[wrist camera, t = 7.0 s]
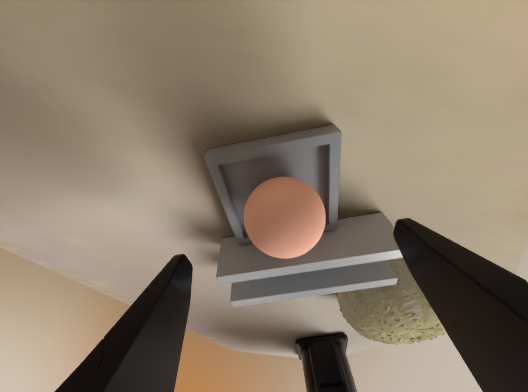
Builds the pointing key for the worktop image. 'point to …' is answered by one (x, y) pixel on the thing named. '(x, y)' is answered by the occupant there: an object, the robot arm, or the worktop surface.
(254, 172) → the coaster
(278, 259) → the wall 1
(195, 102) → the worktop surface
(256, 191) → the ball
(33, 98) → the worktop surface
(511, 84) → the worktop surface
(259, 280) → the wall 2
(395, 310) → the sea urchin shell
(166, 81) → the worktop surface
